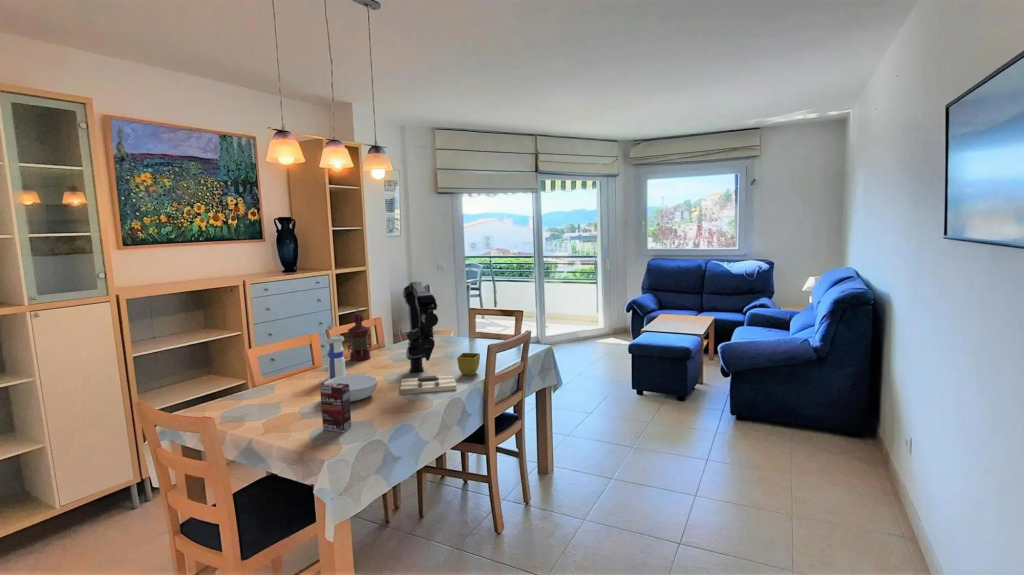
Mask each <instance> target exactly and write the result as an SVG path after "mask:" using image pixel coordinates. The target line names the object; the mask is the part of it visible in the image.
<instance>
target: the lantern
mask: <svg viewBox="0 0 1024 575" xmlns="http://www.w3.org/2000/svg"><path fill="white" fill-rule="evenodd" d="M355 310H356V312H355V313H354V314H353V316H352V319H351V320H352V322H353V323H354V324H355V325H354V326H352V327H350V328H348V329H347V332H348V334H347V335H346V336H347V337H346V340H347V351H348V353H349V354H350V357H349V360H350V361H352V362H363V361H369V360H370V359H371V358H372V357H371V352H370V351H371V349H372V346H373V345H372V334H371V332H370V330H371V329H370V327H368V326H365V325H363V322H364V319H365V318H364V316H363V314H362V313H361V312H360V304H359V302H357V301H356V302H355ZM350 350H351V351H350Z"/></svg>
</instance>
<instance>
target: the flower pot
mask: <svg viewBox="0 0 1024 575" xmlns="http://www.w3.org/2000/svg"><path fill="white" fill-rule="evenodd" d="M480 358H481V353H480V352H479V353H478V352H461V353H460V355H459V356H457V358H456V359H457V360H456V361H457V365H458V366H457V367H458V369H459V372H460V374H461V375H462V376H474V375H475V374H476V373H477V371H478V369H479V367H480V366H479V365H480Z"/></svg>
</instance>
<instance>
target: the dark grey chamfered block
mask: <svg viewBox="0 0 1024 575" xmlns="http://www.w3.org/2000/svg"><path fill="white" fill-rule="evenodd" d="M436 378H437V375H425V376H419V379H420V381H419V382H428V381H436Z"/></svg>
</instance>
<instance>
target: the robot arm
mask: <svg viewBox="0 0 1024 575" xmlns="http://www.w3.org/2000/svg"><path fill="white" fill-rule="evenodd" d="M402 296H403V297H402V298H403V299H404V303H405V304H406V306H407V307H408V315H409V317H408V318H409V328H410V330H409V331H406V333H405V335H406V337H407V340H408V342H407V347H406V355H405V356H406V359H407V360H408V361H409V363H410V367H409V373H420V372H421V373H423V372H424V370H425V369H424V366H423V359H425V360H426V362H428V361H430V359H431V355H432V354H433V351H434V349H435V338H434V327H435V326H436V325H438V324H439V317H438V315H437V314H436V313H434V311H437V310H438V309H437V308H438V304H437V300H436V298H435V295H433V293H432V292H430V291H426V290H425V288H424V287H423V286H422V282H420V281H411V282H409V284H408V285H407V286H405V287H404V288H403V292H402Z"/></svg>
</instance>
